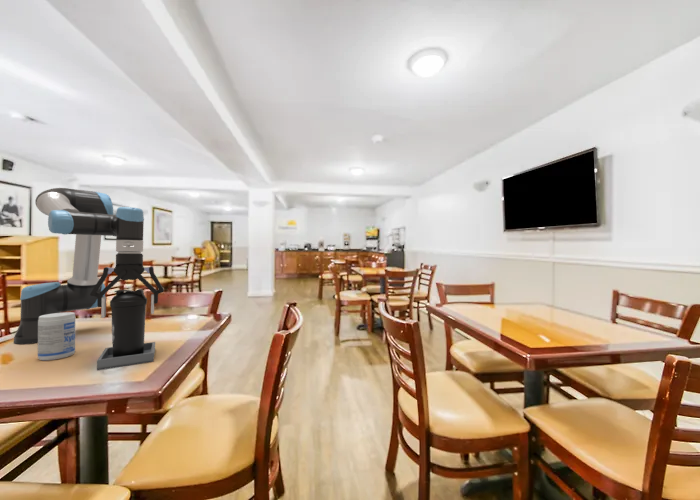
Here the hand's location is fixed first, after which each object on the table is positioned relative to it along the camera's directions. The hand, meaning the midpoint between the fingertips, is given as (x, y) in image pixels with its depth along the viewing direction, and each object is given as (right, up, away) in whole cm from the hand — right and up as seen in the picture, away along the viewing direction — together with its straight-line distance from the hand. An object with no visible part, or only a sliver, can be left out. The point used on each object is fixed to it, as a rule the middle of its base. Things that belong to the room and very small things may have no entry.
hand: (128, 315), depth 104 cm
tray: (0, -15, 0) cm, 15 cm away
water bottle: (0, -15, 0) cm, 15 cm away
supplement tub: (-27, -15, +2) cm, 31 cm away
